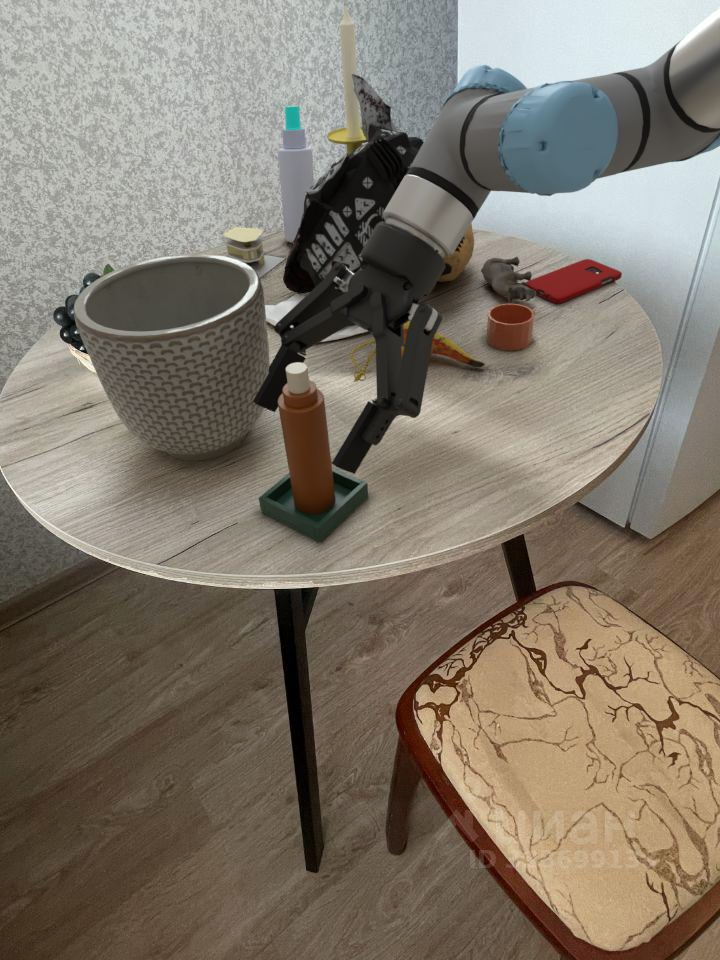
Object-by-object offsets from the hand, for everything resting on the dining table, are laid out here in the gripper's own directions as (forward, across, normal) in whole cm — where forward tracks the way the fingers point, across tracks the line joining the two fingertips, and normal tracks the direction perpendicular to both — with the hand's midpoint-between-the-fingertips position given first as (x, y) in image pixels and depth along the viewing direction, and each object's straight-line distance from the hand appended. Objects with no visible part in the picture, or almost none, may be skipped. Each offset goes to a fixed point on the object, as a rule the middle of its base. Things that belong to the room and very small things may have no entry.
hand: (300, 436), depth 68 cm
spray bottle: (-22, +61, -36) cm, 74 cm away
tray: (+6, 0, -7) cm, 10 cm away
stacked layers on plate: (-13, +60, -27) cm, 67 cm away
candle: (-24, +46, -38) cm, 65 cm away
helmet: (-12, +37, -22) cm, 45 cm away
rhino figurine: (-33, +18, -44) cm, 58 cm away
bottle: (+6, 0, -7) cm, 9 cm away
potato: (-28, +31, -42) cm, 59 cm away
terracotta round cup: (-22, +10, -36) cm, 44 cm away
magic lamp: (-19, +17, -26) cm, 36 cm away
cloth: (-12, +32, -25) cm, 42 cm away
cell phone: (-38, +15, -50) cm, 64 cm away
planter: (+8, +20, -5) cm, 22 cm away
